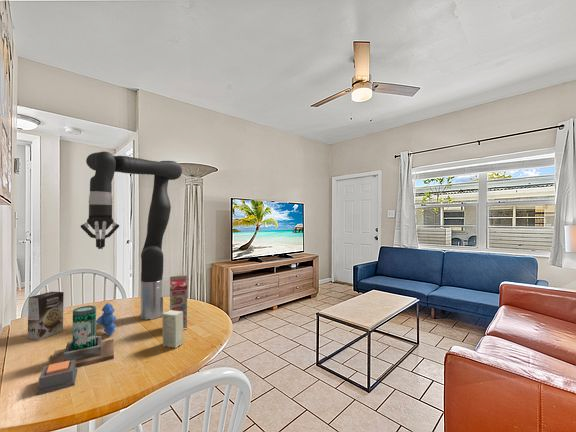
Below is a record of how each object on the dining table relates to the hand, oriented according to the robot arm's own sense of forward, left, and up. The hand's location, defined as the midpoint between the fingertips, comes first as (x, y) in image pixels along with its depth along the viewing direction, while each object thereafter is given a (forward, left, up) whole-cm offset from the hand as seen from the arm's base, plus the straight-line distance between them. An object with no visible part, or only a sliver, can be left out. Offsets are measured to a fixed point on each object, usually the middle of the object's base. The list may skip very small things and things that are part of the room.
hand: (100, 248), depth 106 cm
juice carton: (-28, +4, -35) cm, 45 cm away
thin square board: (+4, +13, -35) cm, 38 cm away
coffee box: (+18, -16, -35) cm, 43 cm away
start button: (+9, +27, -33) cm, 44 cm away
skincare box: (-23, +20, -35) cm, 47 cm away
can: (+4, +13, -34) cm, 37 cm away
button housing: (+9, +27, -35) cm, 45 cm away
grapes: (-2, -4, -35) cm, 35 cm away
